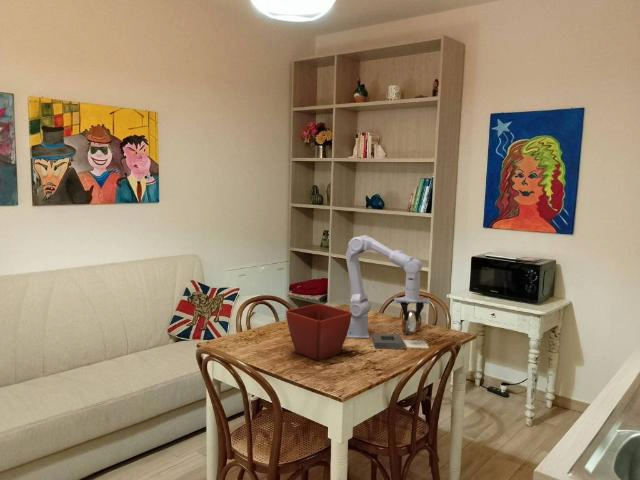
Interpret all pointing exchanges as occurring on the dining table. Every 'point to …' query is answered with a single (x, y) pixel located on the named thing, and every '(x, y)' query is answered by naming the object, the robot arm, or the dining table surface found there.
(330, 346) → the plant pot
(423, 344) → the mat
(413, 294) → the robot arm
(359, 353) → the dining table surface
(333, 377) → the dining table surface
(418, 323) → the tin
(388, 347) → the housing
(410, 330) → the silver metal cylinder
